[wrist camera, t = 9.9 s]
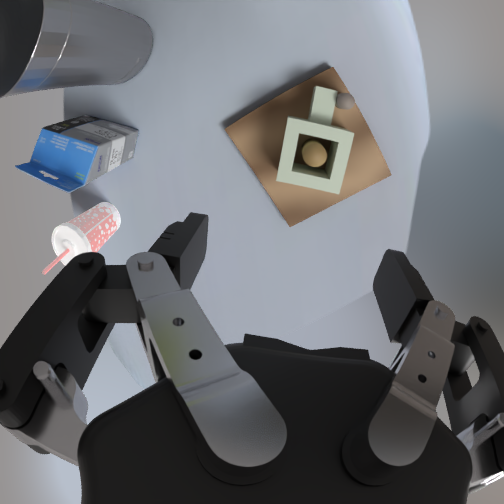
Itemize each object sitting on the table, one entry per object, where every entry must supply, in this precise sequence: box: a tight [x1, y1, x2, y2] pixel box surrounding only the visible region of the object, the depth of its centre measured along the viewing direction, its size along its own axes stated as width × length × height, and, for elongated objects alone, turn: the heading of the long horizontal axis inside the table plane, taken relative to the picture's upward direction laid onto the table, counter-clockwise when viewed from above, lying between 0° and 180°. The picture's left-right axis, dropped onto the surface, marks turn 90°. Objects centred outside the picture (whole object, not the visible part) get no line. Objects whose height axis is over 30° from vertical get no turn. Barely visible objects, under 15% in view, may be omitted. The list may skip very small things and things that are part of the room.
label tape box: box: [15, 115, 139, 193], centre depth 25 cm, size 9×4×12 cm, turn 68°
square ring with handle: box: [276, 86, 354, 194], centre depth 25 cm, size 10×6×4 cm, turn 172°
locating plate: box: [225, 67, 391, 227], centre depth 26 cm, size 13×13×4 cm
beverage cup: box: [42, 202, 121, 275], centre depth 30 cm, size 6×6×14 cm
